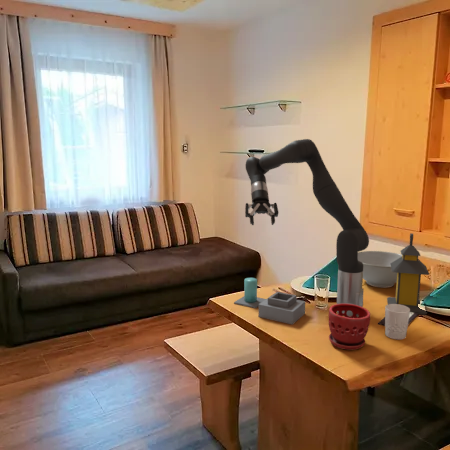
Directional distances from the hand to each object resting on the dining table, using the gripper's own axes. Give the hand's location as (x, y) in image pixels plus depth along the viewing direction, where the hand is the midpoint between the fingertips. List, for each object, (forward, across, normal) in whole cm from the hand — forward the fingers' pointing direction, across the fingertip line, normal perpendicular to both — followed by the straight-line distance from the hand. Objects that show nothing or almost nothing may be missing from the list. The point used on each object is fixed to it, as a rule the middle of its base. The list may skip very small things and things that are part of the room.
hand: (262, 224), depth 193 cm
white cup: (+54, +40, -11) cm, 68 cm away
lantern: (+36, +56, +7) cm, 67 cm away
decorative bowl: (+16, +56, +28) cm, 65 cm away
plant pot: (+58, +22, -15) cm, 64 cm away
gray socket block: (+40, +4, +3) cm, 40 cm away
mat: (+30, -6, +14) cm, 33 cm away
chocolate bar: (+45, +47, -1) cm, 65 cm away
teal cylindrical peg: (+29, -6, +13) cm, 33 cm away
